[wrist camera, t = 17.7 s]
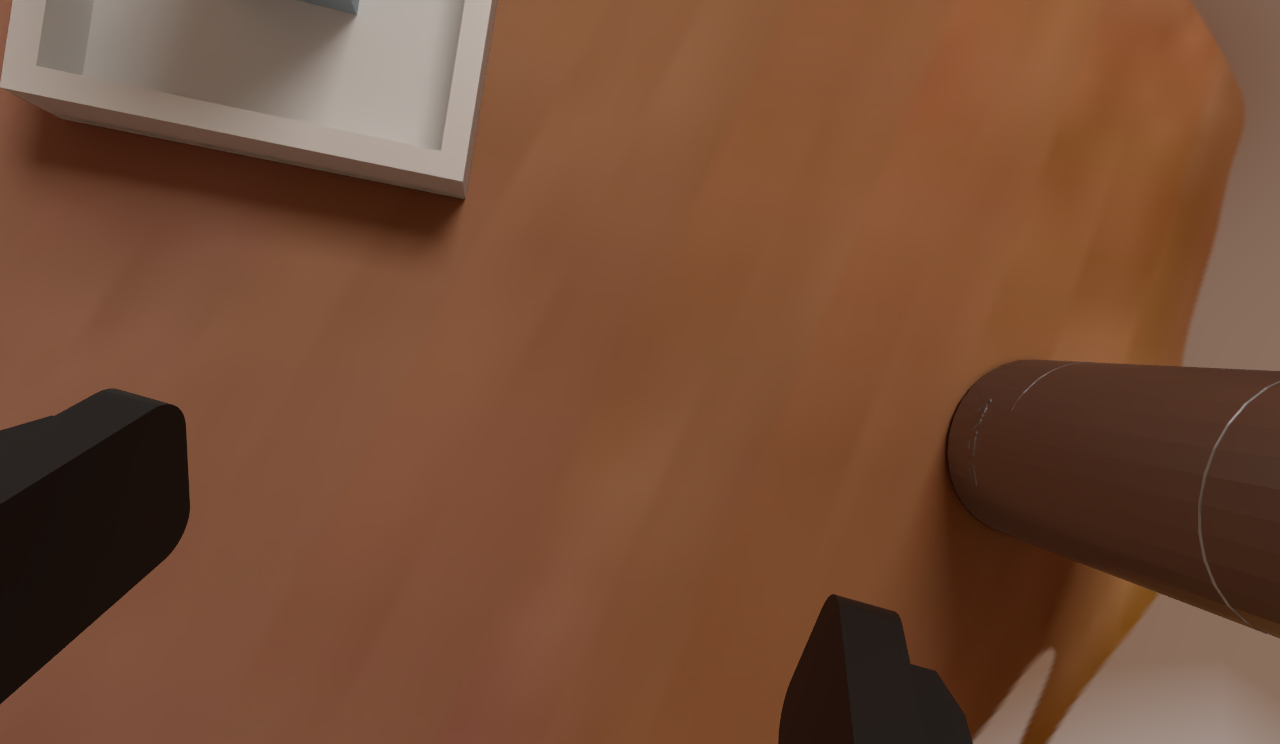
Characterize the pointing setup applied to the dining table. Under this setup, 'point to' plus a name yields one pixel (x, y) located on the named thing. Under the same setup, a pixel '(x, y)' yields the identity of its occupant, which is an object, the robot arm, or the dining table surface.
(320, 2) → the slate block
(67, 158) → the dining table surface
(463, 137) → the tray
